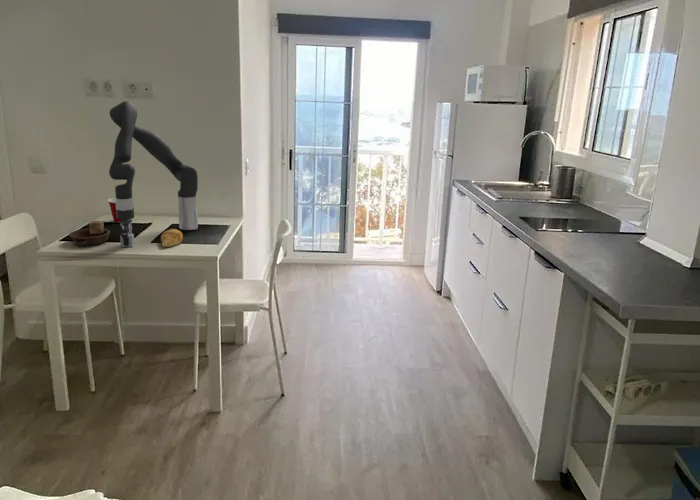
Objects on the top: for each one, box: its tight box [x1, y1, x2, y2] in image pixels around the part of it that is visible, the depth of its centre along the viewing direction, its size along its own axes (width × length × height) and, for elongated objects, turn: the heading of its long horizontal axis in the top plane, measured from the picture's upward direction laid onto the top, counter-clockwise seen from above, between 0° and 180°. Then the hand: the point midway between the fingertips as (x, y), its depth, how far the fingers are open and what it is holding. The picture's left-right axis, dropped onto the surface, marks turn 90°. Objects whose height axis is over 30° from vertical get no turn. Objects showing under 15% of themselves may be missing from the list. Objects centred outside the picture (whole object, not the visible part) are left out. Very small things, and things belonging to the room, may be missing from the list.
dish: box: [68, 228, 111, 247], centre depth 261 cm, size 18×22×5 cm
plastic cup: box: [107, 197, 122, 223], centre depth 303 cm, size 11×11×12 cm
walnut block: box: [88, 220, 105, 234], centre depth 261 cm, size 5×5×5 cm
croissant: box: [160, 228, 184, 248], centre depth 265 cm, size 21×10×8 cm, turn 179°
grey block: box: [119, 232, 135, 248], centre depth 258 cm, size 5×5×5 cm
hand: (127, 243), depth 258 cm, fingers closed on grey block, 5 cm apart
